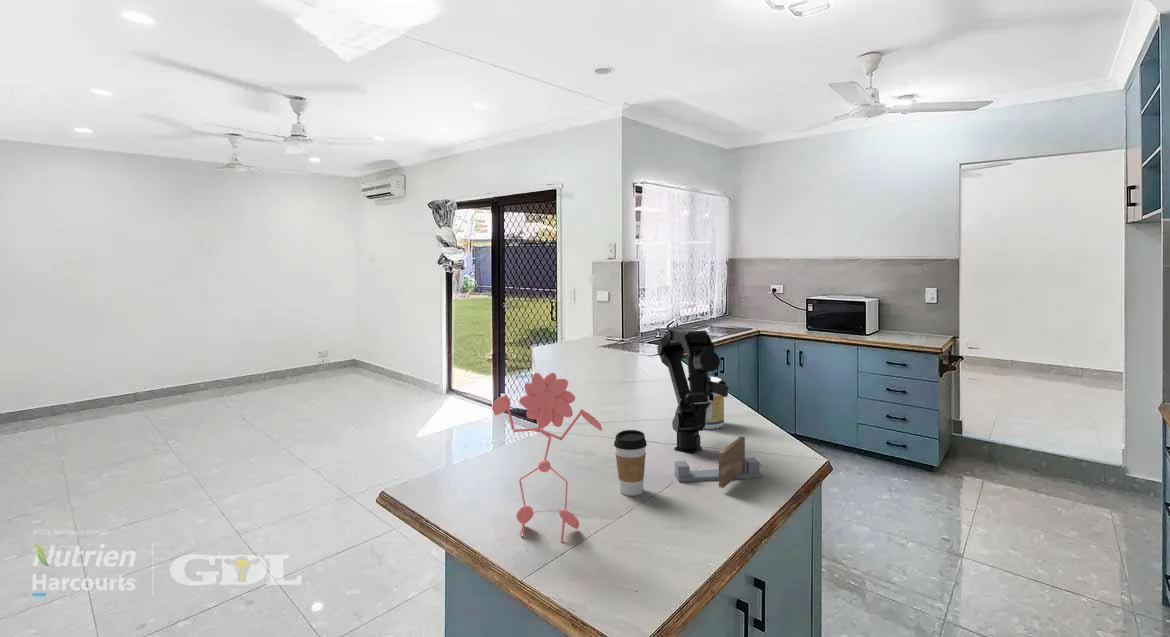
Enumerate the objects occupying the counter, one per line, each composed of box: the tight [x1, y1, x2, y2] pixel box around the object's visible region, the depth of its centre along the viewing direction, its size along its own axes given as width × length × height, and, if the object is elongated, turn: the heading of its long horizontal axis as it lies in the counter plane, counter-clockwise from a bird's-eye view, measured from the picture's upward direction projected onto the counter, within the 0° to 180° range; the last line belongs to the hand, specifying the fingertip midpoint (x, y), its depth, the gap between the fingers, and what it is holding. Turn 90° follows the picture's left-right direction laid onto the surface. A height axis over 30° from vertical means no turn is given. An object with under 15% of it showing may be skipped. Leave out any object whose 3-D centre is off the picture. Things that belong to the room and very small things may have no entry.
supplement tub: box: [703, 376, 725, 430], centre depth 196 cm, size 12×12×17 cm
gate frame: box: [674, 457, 762, 483], centre depth 148 cm, size 5×23×4 cm, turn 94°
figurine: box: [491, 372, 603, 546], centre depth 121 cm, size 15×26×35 cm, turn 74°
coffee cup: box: [613, 429, 648, 497], centre depth 139 cm, size 8×8×15 cm
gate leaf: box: [718, 436, 746, 489], centre depth 143 cm, size 2×15×9 cm, turn 144°
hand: (703, 427), depth 157 cm, fingers closed
